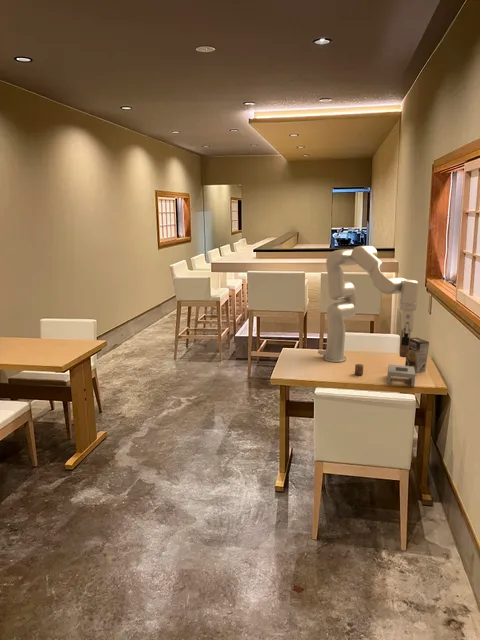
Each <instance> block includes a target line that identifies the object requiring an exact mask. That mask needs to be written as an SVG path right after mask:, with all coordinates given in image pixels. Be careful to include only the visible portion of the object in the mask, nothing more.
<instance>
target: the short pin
mask: <svg viewBox="0 0 480 640" xmlns="http://www.w3.org/2000/svg"><path fill="white" fill-rule="evenodd" d="M354 368H355V369H354V376H356V377H362V375H363V376H364V364H362V363H356V364H355V366H354Z"/></svg>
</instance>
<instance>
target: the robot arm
mask: <svg viewBox="0 0 480 640" xmlns="http://www.w3.org/2000/svg"><path fill="white" fill-rule="evenodd" d="M353 265H355V266H356V265H358V266H359V267H361V269H363V271H364V272H366V273H367V274H368V275H369V279H370V282H371V283H372V285H373V286H374V287H375V288H376V289H377V290H378V291H380V292H381V293H382V294H384V295H387V296H389V295H396V294H400V297H399V298H400V299H399V300H400V301H399V310H401V320H400V321H401V323H400V324H401V325H400V326H401V332H402V331H403V337H402V345H406V346H408V345H409V332H410V333H412V332H413V331H414V319H415V318H414V317H415V311H417V306H418V295H419V286H420V285H419V281H417V280H416V279H407V278H404V277H391V278H388V277H387V276H386V275H385V274H384V273H382V272H381V270H382V268H383V262H382V261H381V260H380V258H378V251H377V248H376V247H374V246H372V245H358V246H356V247H354V248H347V249H346V248H345V249H337V250H336V249H335V250H334V251H332V252H330V253H329V254H328V255H327V257H326V261H325V266H326V270H327V284H328V285H327V286H328V287H327V288H328V296H329V298H330V299H331V300H333V301H337V302H333V303H330V304H329V306H328V307H327V309H326V316H327V336H326V348H325V349H324V350H322V349H318V350H317V354H319V355H322V359H323V360H324V361H327V362H330V363H331V362H332V363H342V362H345V361H347V357H346V356H345V342H346V341H345V340H346V324H345V321H344V320H346V319H350V318H351V319H352V318H353V317H355V315H356V314H357V290H356V287H355V284H353V282H351V281H347V280H345V273H344V271H343V268H342V266H343V267H345V266H353ZM339 300H341V301H339ZM404 328H405V331H404ZM408 330H410V331H408ZM404 332H405V333H404Z"/></svg>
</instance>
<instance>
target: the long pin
mask: <svg viewBox="0 0 480 640" xmlns="http://www.w3.org/2000/svg"><path fill="white" fill-rule="evenodd" d="M404 331H405V328H404ZM408 331H410V330H408ZM404 333H405V332H404ZM400 334H401V335H400V345H399V346H400V347H399V357H401V358H406V357H408V353H409V345H408V346H406V345H402V337H403V331H402V330H401V333H400ZM410 338H411V331H410V332H409V342H410Z"/></svg>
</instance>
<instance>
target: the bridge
mask: <svg viewBox="0 0 480 640" xmlns="http://www.w3.org/2000/svg"><path fill="white" fill-rule="evenodd" d="M387 367H388V368H387V385H391V384H392V383H391V381H392V377H396V378H406V379H409V380H410V386H411V387H415V383H416V382H415V381H416V372H415V370H414V367H410V366H405V365H399V364H398V365H397V364H389V363H388V366H387Z"/></svg>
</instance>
